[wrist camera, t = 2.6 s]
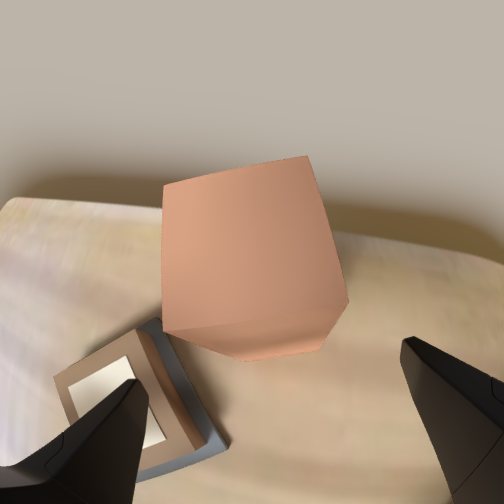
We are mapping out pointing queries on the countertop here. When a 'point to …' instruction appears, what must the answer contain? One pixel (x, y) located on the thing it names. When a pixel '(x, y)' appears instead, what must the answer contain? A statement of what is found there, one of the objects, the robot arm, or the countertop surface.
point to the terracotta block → (250, 262)
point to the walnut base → (160, 398)
